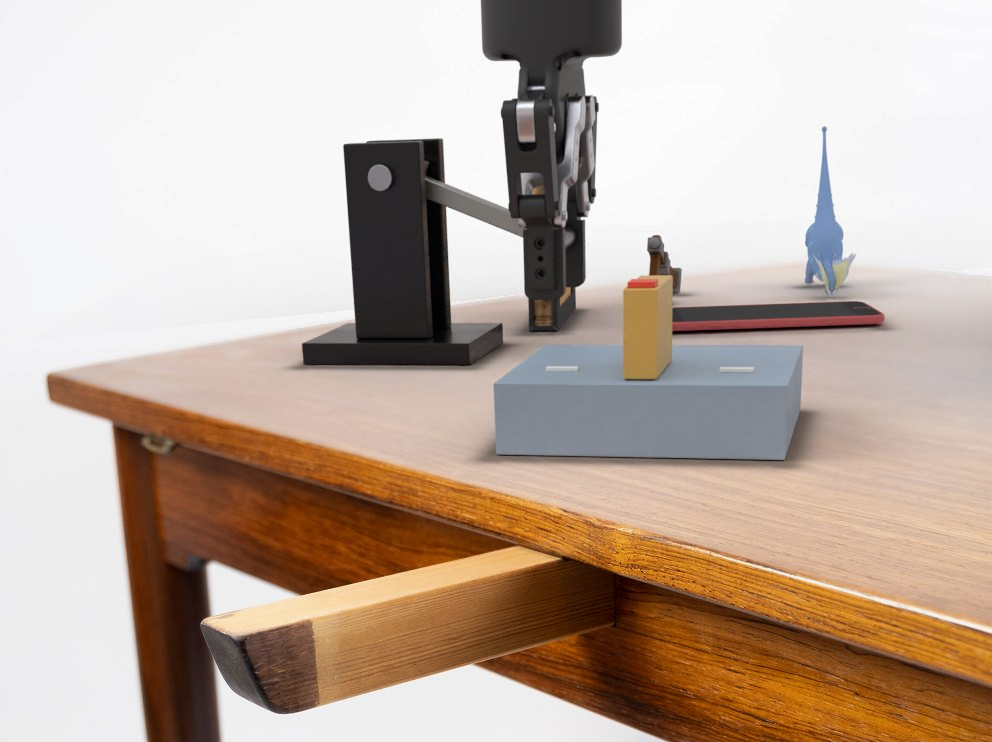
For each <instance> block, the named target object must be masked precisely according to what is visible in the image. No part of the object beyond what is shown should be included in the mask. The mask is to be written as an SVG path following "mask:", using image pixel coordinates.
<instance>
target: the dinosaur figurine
mask: <svg viewBox="0 0 992 742" xmlns="http://www.w3.org/2000/svg"><path fill="white" fill-rule="evenodd" d="M827 131H828V127H827V126H825V125H824V126H822V127H821V132H822V150H821V151H822V153H821V165H820V176H819V184H818V193H817V202H816V205H815V206H816V211H815V215H814V222H813V223H812V224H811V225H809V227H808V228H807V230H806V233H805V240H804V244H805V247H806V248H807V251H806V252H807V258H808V259H807V262H806V266H805V277H804V278H805V279H804V283H805V285H807V286H811V285H812V284H815V280H814V277H815V278H816V279H818V280H819V281H820V282H821V283H823V284H824V292H825V294H826V295H827V296H828V297H829V298H834V296H835V295H836V294H837V292H838V291H839V288H840V287H841V286H842V285H843V283H845V281H846V279H847V278H848V276H849V273H850V267H851V265H852V263H853V261H854V260H855V258H856V256H857V253H855V254H854V252H851V254H849V255H848V256H847V257H843V253H844V243H843V240H844V230H843V227H842V226H841V224H839V223H838V221H837V220H836V215H835V209H834V203H833V193H832V187H831V179H830V171H829V163H828V162H829V161H828V153H827Z"/></svg>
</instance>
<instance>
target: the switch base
mask: <svg viewBox="0 0 992 742" xmlns="http://www.w3.org/2000/svg"><path fill="white" fill-rule="evenodd" d="M803 356H804V345H803V344H672V360H671V362H670V363H669V364H668V366H667V367H666V368H665V369H664V371H663V372H662V373H661V374H660V376H659V377H658V378H657V379H656V380H652V379H624V378H623V344H544V345H543V346H542V347H540V348H539V349H537V350H536V351H535V352H534V353H533V354H531V355H530V356H528V357H527V358H526V359H524V360H523V361H522V362H520V363H519V364H518V365H516V366H515V367H513V368H512V369H511V370H509V371H508V372H507V373H505V374H504V375H502V377H500V378H499V379H497V380H496V381H495V382H494V383H493V404H494V409H493V410H494V436H495V454H496V455H502V456H505V455H506V456H508V455H509V456H550V457H551V456H555V457H601V458H602V457H603V458H604V457H605V458H607V457H608V458H609V457H611V458H651V459H652V458H654V459H655V458H658V459H706V460H707V459H709V460H756V461H757V460H761V461H762V460H763V461H785V460H786V457H787V454H788V451H789V448H790V445H791V442H792V439H793V435H794V433H795V429H796V426H797V423H798V420H799V416H800V414H801V407H802V405H801V404H802V385H803V383H802V382H803V362H804V361H803V360H804V357H803Z"/></svg>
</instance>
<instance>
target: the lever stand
mask: <svg viewBox="0 0 992 742" xmlns="http://www.w3.org/2000/svg"><path fill="white" fill-rule="evenodd" d="M342 148H343V165H344V177H345V180H344V181H345V192H346V194H345V195H346V208H347V221H348V236H349V237H348V238H349V250H350V251H349V252H350V267H351V280H352V281H351V283H352V296H353V297H352V298H353V309H354V322H348V323H345V324H343V325H341V326H338V327H336V328H334V329H332V330H331V329H330V330H329V331H327V332H325V333H323V334H320V335H318V336H316V337H313V338H311V339H308V340H307V341H304V342H302V343H301V350H302V362H303V363H302V364H303V365H373V366H374V365H375V366H376V365H377V366H378V365H387V366H388V365H389V366H391V365H392V366H393V365H398V366H399V365H401V366H403V365H406V366H407V365H410V366H413V365H414V366H415V365H416V366H471V364H473V363H474V362H476V361H478V360H479V359H481V358H482V357H484V356H485V355H487V354H489V352H491V351H492V350H494V349H496V348H497V347H499V346H500V345H501V344H503V343H504V327H503V326H504V324H503V322H452V310H451V309H452V307H451V290H450V289H451V287H450V286H451V285H450V284H451V283H450V266H449V265H450V264H449V262H450V261H449V241H448V239H449V238H448V219H447V218H448V217H447V207H446V206H444V205H441V204H439V203H436V202H434V201H431V200H429V199H426V187H425V167H424V160H426V161H429V166H428V169H427V172H426V176H428V177H430V178H433V179H435V180H438V181H440V182H443V183H445V184H446V173H445V152H444V139H443V138H442V137H438V138H437V137H436V138H412V139H410V138H409V139H407V138H406V139H379V140H378V139H377V140H367V141H365V142H350V143H343V146H342Z"/></svg>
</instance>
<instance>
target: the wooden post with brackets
mask: <svg viewBox="0 0 992 742" xmlns="http://www.w3.org/2000/svg"><path fill="white" fill-rule="evenodd" d="M646 245H647V246H646V251H647V252H648V255H649V271H648V276H653V275H671V276H673V294H680V293H681V287H682V273H683V268H682V267H672V265H671V259H670V257H669V252H668V251H665V244H664V242H663V239H662V236H661V235H660V234H654V235H652V236H650V237H647V244H646Z"/></svg>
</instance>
